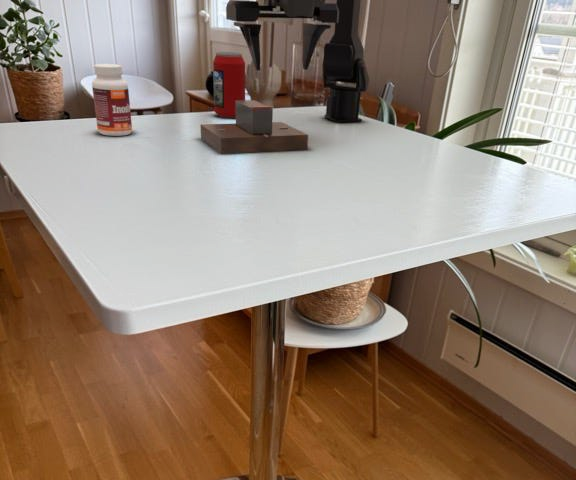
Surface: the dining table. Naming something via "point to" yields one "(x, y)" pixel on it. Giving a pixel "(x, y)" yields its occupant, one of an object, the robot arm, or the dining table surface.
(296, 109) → the dining table surface
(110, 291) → the dining table surface
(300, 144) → the brown wooden base
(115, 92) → the pill bottle
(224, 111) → the beverage can
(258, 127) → the rectangular block
